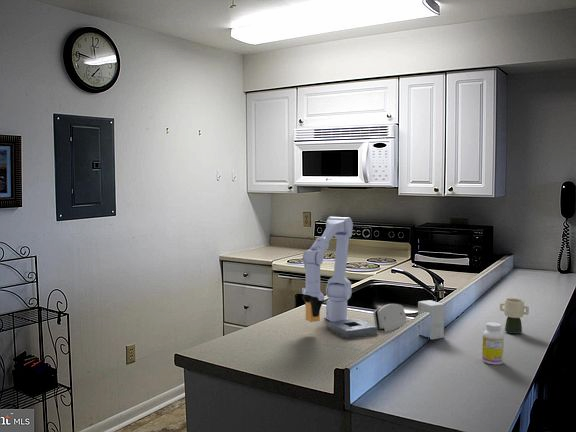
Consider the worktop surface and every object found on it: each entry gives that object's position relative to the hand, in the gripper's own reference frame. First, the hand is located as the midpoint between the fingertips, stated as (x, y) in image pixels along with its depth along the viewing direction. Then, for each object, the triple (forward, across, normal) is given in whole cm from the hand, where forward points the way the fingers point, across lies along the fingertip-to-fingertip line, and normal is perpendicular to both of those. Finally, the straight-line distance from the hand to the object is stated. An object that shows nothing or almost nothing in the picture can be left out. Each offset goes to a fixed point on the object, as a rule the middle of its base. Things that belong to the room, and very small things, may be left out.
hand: (312, 314), depth 216 cm
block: (+2, 0, 0) cm, 2 cm away
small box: (+8, +23, +39) cm, 46 cm away
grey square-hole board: (+7, +5, +15) cm, 17 cm away
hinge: (+8, +5, +34) cm, 35 cm away
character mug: (+8, +34, +71) cm, 79 cm away
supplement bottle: (+8, +55, +38) cm, 67 cm away
